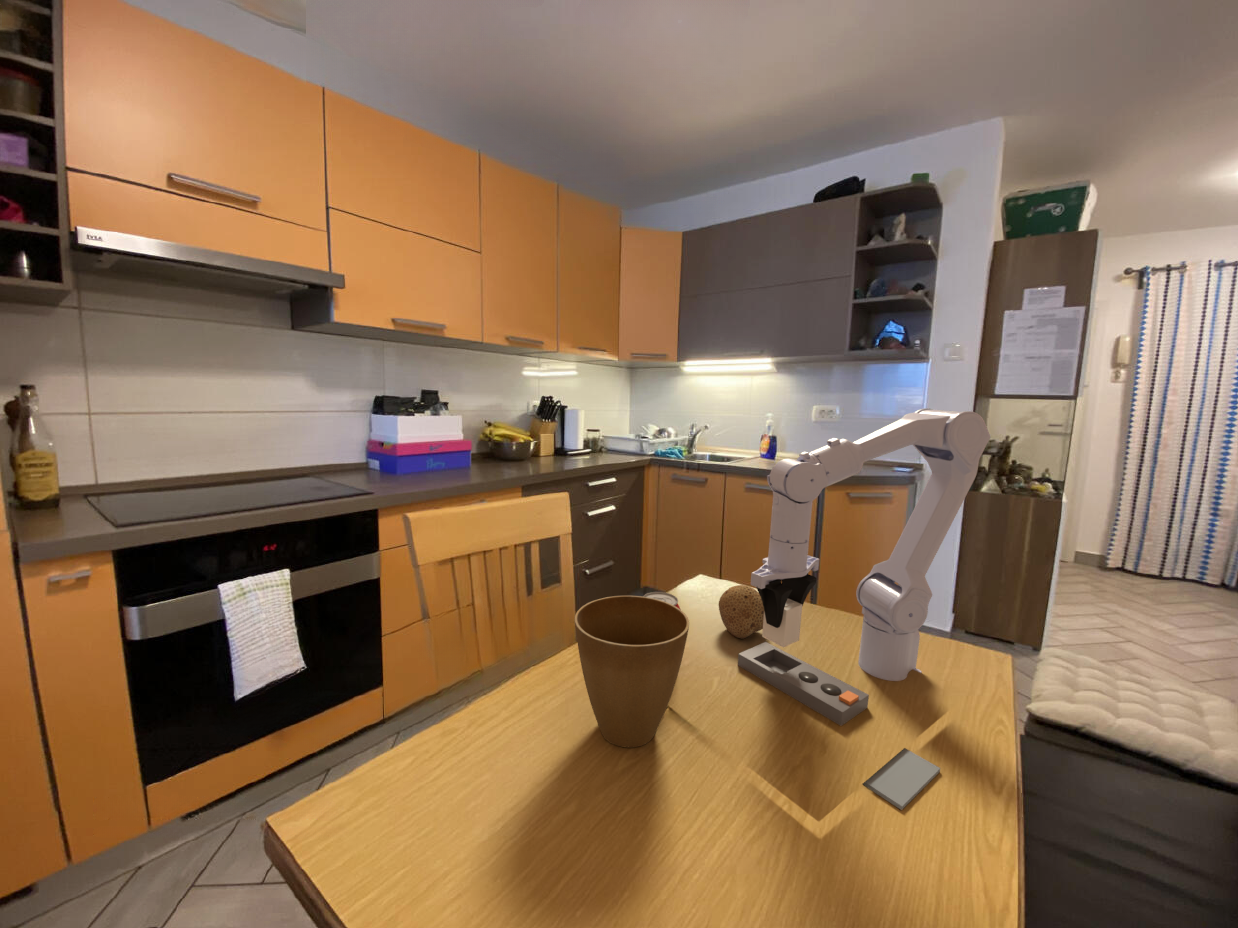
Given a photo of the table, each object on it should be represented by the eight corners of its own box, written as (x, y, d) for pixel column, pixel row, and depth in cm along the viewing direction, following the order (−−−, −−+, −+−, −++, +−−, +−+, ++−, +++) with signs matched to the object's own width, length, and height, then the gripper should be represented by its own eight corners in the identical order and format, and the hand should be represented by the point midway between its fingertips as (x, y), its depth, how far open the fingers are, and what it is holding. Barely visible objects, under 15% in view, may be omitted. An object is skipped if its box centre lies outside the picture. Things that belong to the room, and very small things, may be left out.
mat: (860, 726, 70) (861, 723, 70) (939, 771, 62) (940, 767, 62) (819, 756, 64) (820, 752, 64) (901, 810, 56) (902, 806, 56)
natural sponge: (751, 623, 100) (755, 575, 98) (776, 646, 91) (781, 594, 90) (709, 628, 97) (712, 579, 96) (731, 652, 89) (735, 598, 87)
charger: (777, 629, 83) (780, 594, 82) (799, 640, 79) (802, 603, 78) (762, 636, 80) (765, 599, 79) (783, 647, 77) (786, 609, 76)
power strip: (764, 657, 87) (765, 639, 87) (866, 713, 73) (869, 691, 72) (737, 670, 83) (738, 650, 82) (840, 732, 69) (842, 708, 68)
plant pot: (706, 745, 66) (713, 629, 63) (604, 785, 58) (608, 657, 56) (645, 684, 78) (649, 586, 76) (555, 712, 71) (557, 605, 69)
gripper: (794, 525, 85) (788, 601, 87) (737, 538, 76) (731, 622, 78) (834, 535, 79) (825, 617, 81) (776, 551, 71) (769, 642, 73)
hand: (782, 621), depth 79 cm, fingers closed on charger, 4 cm apart
